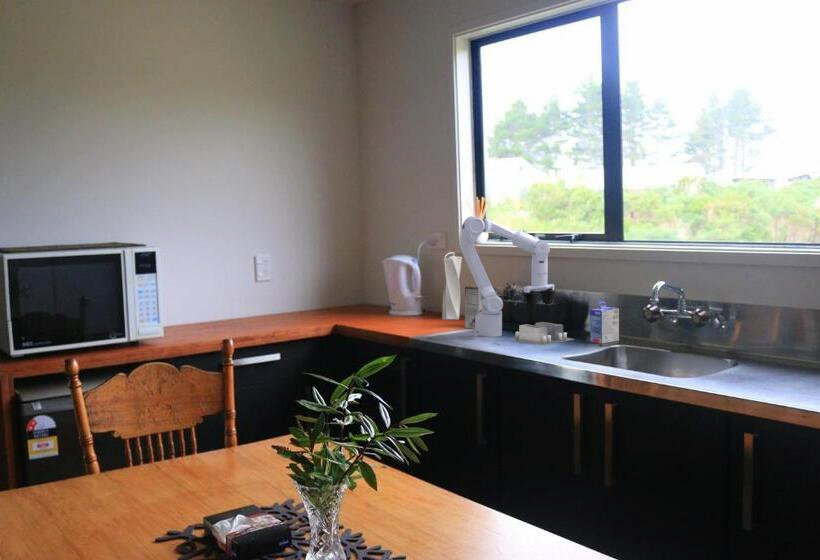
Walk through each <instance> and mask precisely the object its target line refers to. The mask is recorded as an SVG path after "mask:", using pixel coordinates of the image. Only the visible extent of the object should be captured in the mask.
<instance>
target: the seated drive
mask: <svg viewBox="0 0 820 560" xmlns="http://www.w3.org/2000/svg"><path fill="white" fill-rule="evenodd" d="M534 326H541V327H547V335H551V340H558V333H562V339H563V333H564V325H563V324H561V323H559V324H558V323H552V322H544V321H541V322H535V324H534Z"/></svg>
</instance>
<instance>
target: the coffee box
mask: <svg viewBox="0 0 820 560" xmlns="http://www.w3.org/2000/svg"><path fill="white" fill-rule="evenodd" d="M464 290H465V291H464V294H465V295H464V296H465V297H464V305H465V306H464V308H465V309H464V328H465V329H471V330H473V329H474V330H475V318H476V316H477V314H478V313H480V312H482V310H483V309H484V308H483V306H482V304H481V296H480V293H479V289H478V287H477V284H475V285H469V286H465V287H464Z"/></svg>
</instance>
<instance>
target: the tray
mask: <svg viewBox="0 0 820 560" xmlns="http://www.w3.org/2000/svg"><path fill="white" fill-rule="evenodd" d="M567 335H568V332H564V331H563V339H562V333H558V340H551V335H547V342H546V336H542V343H535V342H529V341H523V340H519V331H515V338H510V339H507V340H508V341H513V342H517V343H518V342H520V343H525V344H532V345H537V346H546V345H552V344H557V343H562V342H567V341H575V340H576V339H575V338H570V337H567Z"/></svg>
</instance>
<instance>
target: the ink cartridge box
mask: <svg viewBox="0 0 820 560" xmlns="http://www.w3.org/2000/svg"><path fill="white" fill-rule="evenodd" d="M597 304H598V307H597V308H593V309H590V311H589V327H590V328H589V329H590V331H589V333H590V335H589V336H590V342H591V343H596V344H598V346H600V347H603V346H609V345H614V344H619V342H620V338H619V337H620V335H619V333H620V330H619V329H620V327H619V326H620V323H619V322H620V321H619V319H620V316H619V315H620V312H619V311H620V310H619V309H620V308H619V307H612V306H608V305H607V303H606V302H605V300H603V301H598V302H597ZM601 304H602V305H601Z"/></svg>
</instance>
